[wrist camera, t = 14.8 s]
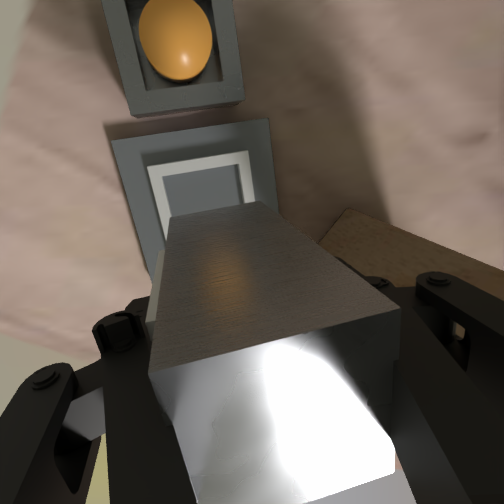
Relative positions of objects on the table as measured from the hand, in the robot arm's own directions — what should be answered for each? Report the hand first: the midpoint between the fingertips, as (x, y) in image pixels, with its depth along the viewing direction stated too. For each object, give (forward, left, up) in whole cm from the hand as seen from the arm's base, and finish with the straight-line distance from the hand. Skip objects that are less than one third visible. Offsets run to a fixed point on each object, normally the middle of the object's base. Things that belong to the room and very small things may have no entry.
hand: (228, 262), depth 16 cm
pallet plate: (0, 0, -16) cm, 16 cm away
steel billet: (0, 0, -2) cm, 2 cm away
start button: (0, -13, -14) cm, 19 cm away
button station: (0, -13, -16) cm, 21 cm away
